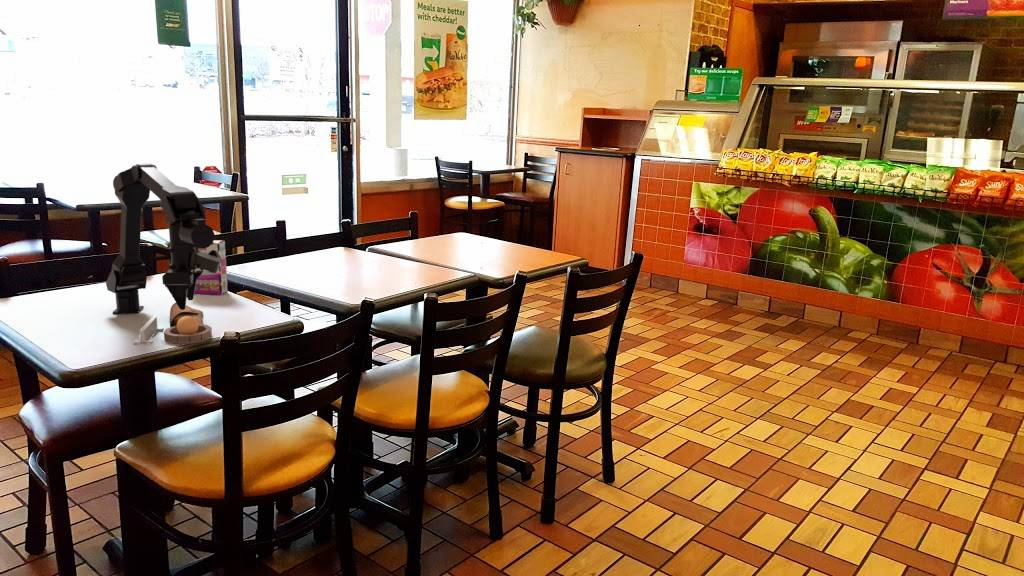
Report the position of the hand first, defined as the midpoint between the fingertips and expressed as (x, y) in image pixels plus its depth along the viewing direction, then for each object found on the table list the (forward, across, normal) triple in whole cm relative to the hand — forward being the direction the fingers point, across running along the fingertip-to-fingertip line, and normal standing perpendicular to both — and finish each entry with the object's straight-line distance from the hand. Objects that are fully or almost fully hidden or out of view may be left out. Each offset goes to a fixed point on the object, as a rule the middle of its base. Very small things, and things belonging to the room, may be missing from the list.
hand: (186, 304), depth 187 cm
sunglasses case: (+9, +14, +3) cm, 17 cm away
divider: (+9, +2, +10) cm, 13 cm away
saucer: (+9, 0, 0) cm, 9 cm away
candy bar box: (+9, +47, +4) cm, 48 cm away
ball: (+8, 0, 0) cm, 8 cm away
